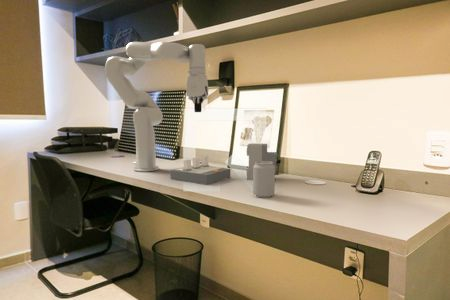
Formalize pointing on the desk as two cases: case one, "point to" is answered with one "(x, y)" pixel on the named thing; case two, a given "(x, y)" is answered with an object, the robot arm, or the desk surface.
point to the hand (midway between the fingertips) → (198, 112)
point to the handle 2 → (204, 161)
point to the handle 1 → (187, 164)
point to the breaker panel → (201, 174)
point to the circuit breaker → (259, 157)
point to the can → (263, 179)
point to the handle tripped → (196, 162)
